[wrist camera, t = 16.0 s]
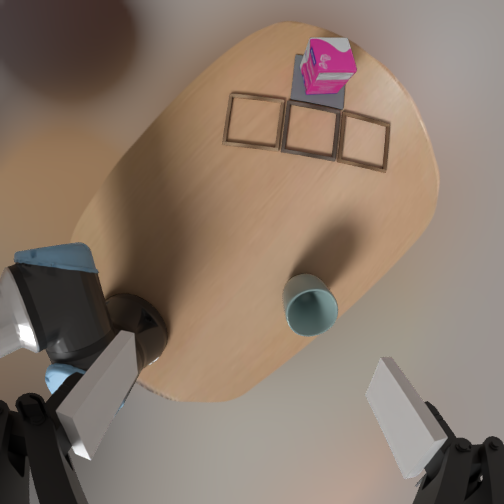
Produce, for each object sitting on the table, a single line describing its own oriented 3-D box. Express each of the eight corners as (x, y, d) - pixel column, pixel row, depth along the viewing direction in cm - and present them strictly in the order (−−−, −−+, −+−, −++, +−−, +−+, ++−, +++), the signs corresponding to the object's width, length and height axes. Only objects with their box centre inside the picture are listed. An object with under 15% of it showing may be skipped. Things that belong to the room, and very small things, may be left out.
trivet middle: (280, 152, 44) (281, 151, 43) (287, 101, 42) (287, 100, 41) (334, 161, 44) (335, 161, 44) (339, 111, 42) (340, 110, 42)
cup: (318, 262, 48) (333, 281, 38) (327, 302, 50) (342, 328, 40) (274, 275, 49) (279, 297, 39) (286, 315, 50) (292, 343, 40)
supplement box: (297, 66, 40) (309, 35, 29) (330, 65, 40) (350, 36, 29) (304, 96, 41) (318, 70, 30) (337, 94, 41) (360, 70, 30)
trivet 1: (222, 145, 44) (222, 144, 43) (230, 94, 42) (229, 93, 41) (277, 151, 44) (278, 151, 43) (284, 100, 42) (284, 99, 41)
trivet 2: (336, 162, 44) (337, 161, 44) (342, 112, 42) (343, 111, 42) (384, 172, 44) (385, 172, 44) (388, 124, 42) (390, 124, 42)
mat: (290, 99, 42) (290, 98, 41) (295, 55, 40) (295, 54, 39) (342, 109, 42) (343, 109, 42) (345, 66, 40) (345, 65, 40)
